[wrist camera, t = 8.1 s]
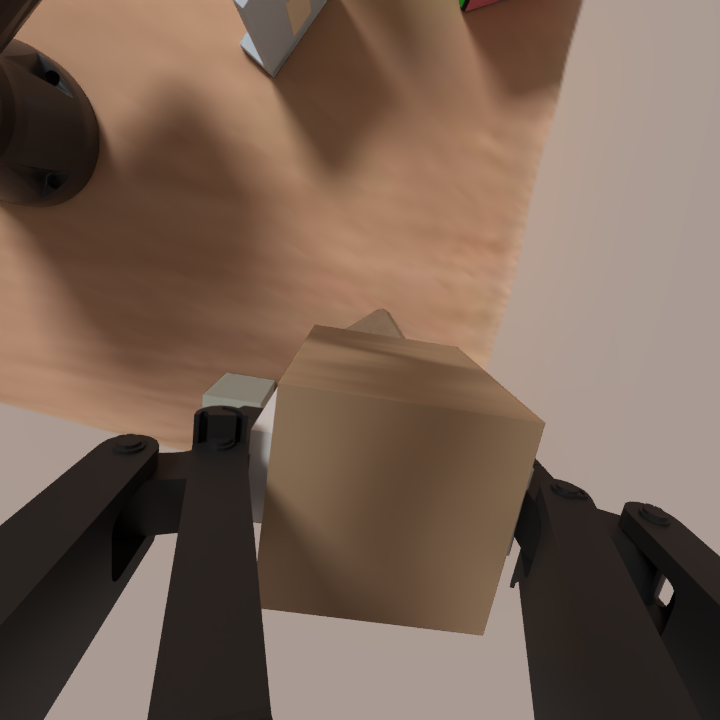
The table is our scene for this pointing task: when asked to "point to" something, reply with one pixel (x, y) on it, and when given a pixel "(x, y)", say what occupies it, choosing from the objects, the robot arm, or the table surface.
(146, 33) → the table surface
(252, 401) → the sage block
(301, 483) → the walnut block
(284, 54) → the placard
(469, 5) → the puzzle cube
